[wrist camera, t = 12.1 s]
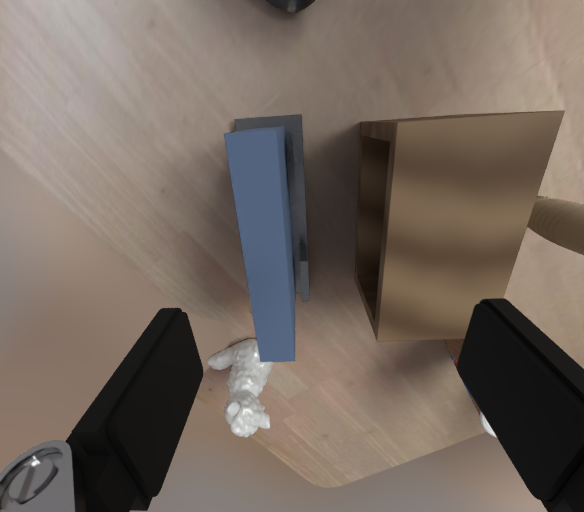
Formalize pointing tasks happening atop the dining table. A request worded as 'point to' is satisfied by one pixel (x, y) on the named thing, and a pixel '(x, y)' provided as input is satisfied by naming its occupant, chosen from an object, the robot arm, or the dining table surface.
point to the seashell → (291, 4)
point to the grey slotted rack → (291, 189)
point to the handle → (559, 222)
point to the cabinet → (444, 215)
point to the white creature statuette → (244, 386)
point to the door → (265, 235)
